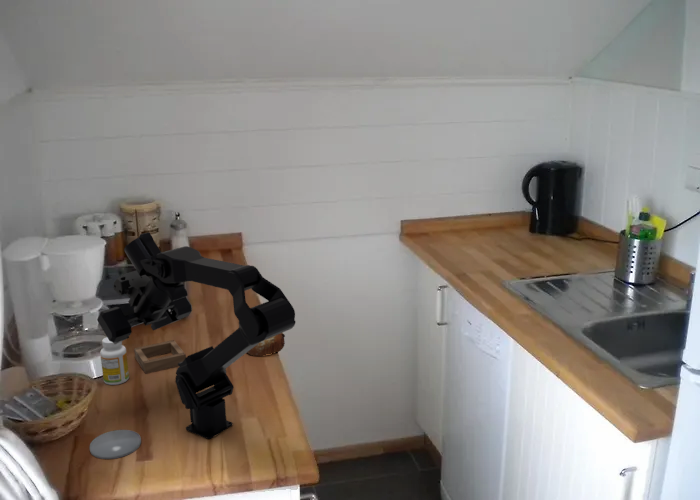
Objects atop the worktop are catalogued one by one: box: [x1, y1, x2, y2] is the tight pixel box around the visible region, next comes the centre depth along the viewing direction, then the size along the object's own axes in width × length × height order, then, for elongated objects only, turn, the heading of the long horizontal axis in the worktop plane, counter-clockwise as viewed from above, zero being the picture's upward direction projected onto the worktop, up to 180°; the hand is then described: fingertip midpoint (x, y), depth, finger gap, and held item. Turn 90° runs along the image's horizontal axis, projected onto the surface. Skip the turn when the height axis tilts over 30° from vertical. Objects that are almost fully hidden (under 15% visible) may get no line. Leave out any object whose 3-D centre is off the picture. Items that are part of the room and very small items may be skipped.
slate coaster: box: [89, 429, 142, 460], centre depth 133 cm, size 9×9×1 cm
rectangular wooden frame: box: [133, 339, 187, 374], centre depth 167 cm, size 9×9×2 cm
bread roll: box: [246, 332, 286, 357], centre depth 174 cm, size 10×10×8 cm
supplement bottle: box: [99, 336, 130, 386], centre depth 158 cm, size 5×5×10 cm
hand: (133, 335), depth 150 cm, fingers open, 9 cm apart
